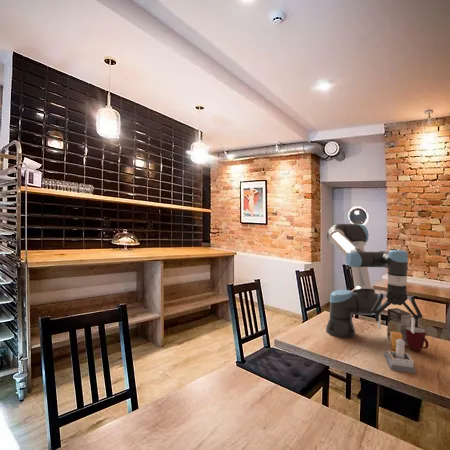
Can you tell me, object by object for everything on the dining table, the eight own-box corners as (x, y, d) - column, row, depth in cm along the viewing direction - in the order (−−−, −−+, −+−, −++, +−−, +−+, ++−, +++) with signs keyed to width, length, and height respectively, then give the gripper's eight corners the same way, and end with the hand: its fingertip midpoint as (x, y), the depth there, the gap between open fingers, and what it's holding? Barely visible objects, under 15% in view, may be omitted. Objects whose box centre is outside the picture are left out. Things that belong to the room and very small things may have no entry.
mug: (434, 354, 137) (434, 332, 137) (423, 357, 134) (424, 335, 134) (411, 345, 147) (412, 325, 147) (401, 348, 143) (401, 327, 143)
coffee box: (386, 338, 155) (386, 308, 155) (396, 337, 157) (397, 307, 157) (400, 345, 146) (400, 313, 146) (410, 344, 148) (411, 313, 148)
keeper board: (383, 354, 136) (383, 329, 136) (405, 357, 133) (405, 332, 133) (390, 369, 122) (391, 342, 122) (415, 373, 119) (416, 345, 119)
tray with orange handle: (384, 351, 135) (385, 330, 135) (404, 354, 133) (404, 332, 133) (391, 365, 123) (391, 341, 122) (413, 368, 120) (413, 344, 120)
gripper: (368, 283, 132) (366, 329, 133) (432, 288, 124) (430, 337, 125) (365, 280, 139) (364, 323, 140) (426, 284, 132) (424, 330, 132)
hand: (395, 330), depth 133 cm, fingers open, 13 cm apart
